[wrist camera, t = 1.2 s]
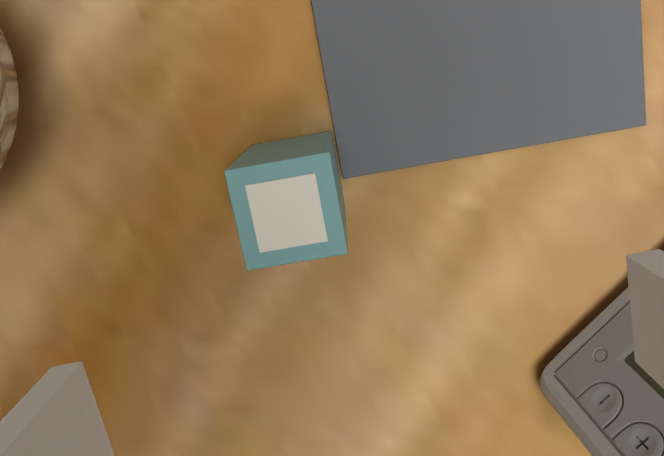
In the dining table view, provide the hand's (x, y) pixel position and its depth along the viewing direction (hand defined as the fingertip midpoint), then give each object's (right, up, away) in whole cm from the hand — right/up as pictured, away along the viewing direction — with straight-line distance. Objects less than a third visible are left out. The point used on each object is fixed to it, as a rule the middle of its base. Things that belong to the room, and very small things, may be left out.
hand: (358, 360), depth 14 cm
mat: (+7, +14, +18) cm, 24 cm away
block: (-2, +6, +20) cm, 21 cm away
